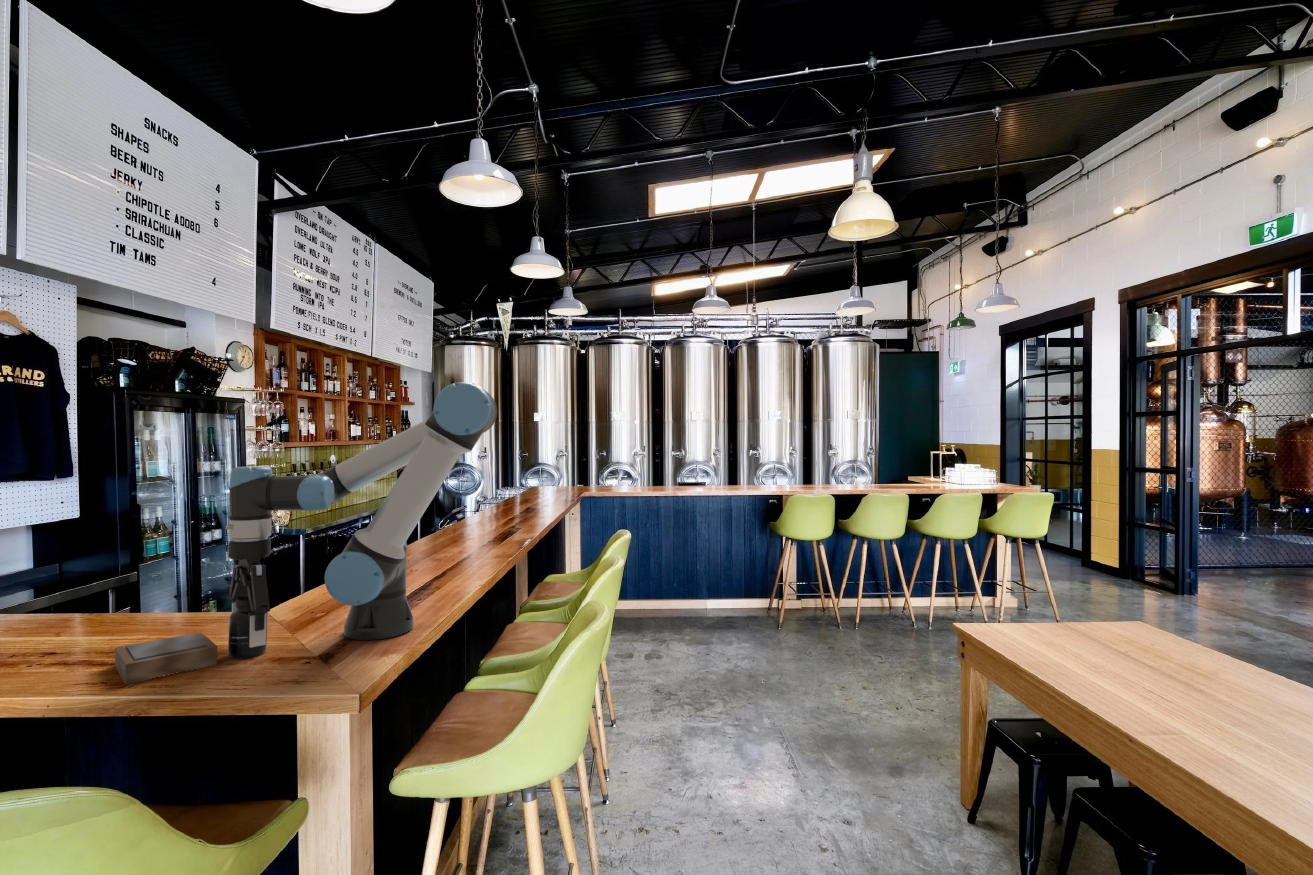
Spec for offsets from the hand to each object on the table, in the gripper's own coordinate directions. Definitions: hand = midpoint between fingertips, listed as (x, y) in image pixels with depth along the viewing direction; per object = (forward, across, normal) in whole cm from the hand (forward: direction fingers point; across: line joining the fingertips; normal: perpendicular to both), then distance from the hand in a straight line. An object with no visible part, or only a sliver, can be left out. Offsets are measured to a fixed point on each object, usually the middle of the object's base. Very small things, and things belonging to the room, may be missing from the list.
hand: (248, 638), depth 128 cm
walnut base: (+3, -4, -13) cm, 14 cm away
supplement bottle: (+3, 0, 0) cm, 3 cm away
